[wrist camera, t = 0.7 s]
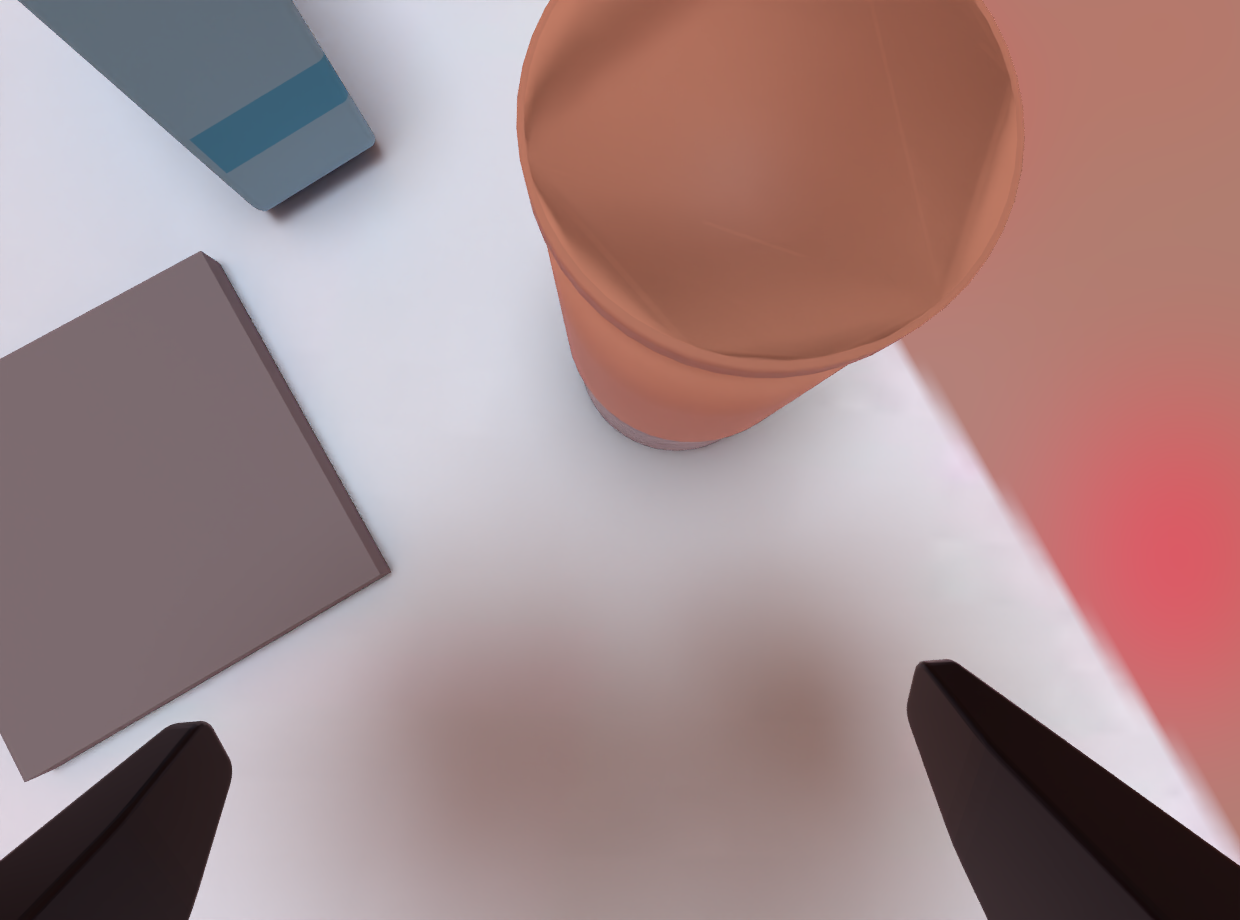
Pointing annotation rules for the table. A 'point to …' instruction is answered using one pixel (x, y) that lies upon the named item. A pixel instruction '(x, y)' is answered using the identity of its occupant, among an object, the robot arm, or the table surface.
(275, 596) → the charcoal mat
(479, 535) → the table surface
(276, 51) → the data package
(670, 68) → the terracotta canister
